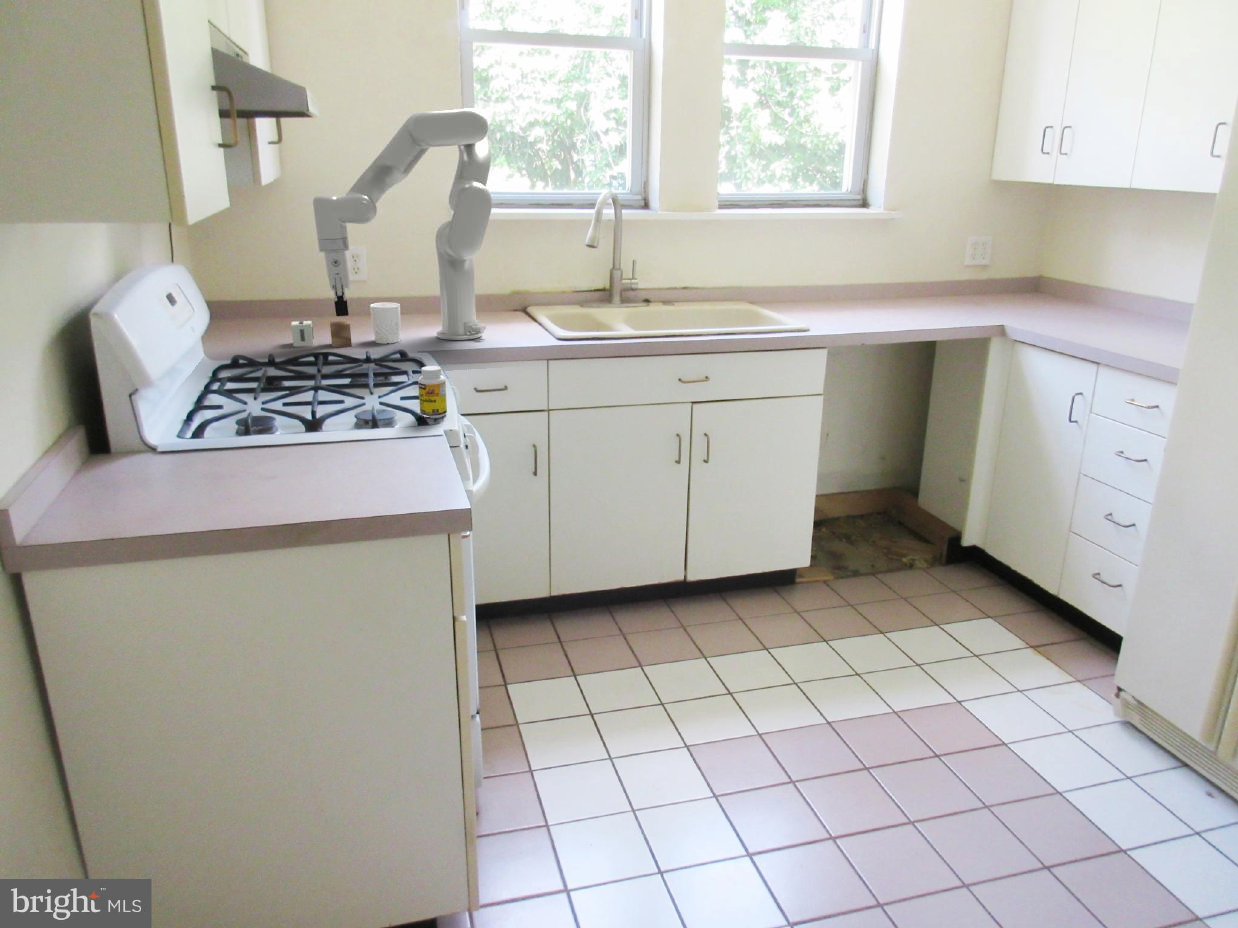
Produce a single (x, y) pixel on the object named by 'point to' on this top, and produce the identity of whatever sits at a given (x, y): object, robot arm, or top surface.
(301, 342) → the marked block
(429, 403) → the supplement bottle
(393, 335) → the white cup
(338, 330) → the walnut block
